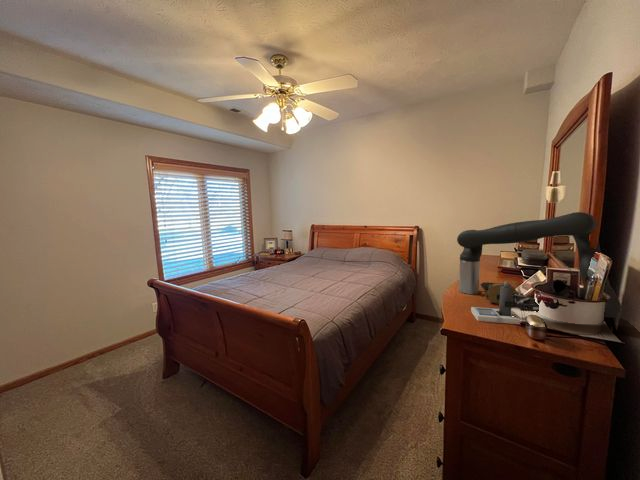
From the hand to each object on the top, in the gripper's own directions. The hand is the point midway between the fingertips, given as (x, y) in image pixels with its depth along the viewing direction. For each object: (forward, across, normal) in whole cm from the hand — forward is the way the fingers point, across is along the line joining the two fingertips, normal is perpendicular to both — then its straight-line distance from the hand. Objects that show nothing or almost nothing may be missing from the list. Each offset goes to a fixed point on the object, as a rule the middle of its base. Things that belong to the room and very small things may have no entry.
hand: (500, 300), depth 106 cm
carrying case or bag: (-12, -41, +8) cm, 43 cm away
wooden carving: (-6, -18, +8) cm, 21 cm away
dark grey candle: (-2, 0, +8) cm, 8 cm away
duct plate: (+2, 0, +8) cm, 8 cm away
